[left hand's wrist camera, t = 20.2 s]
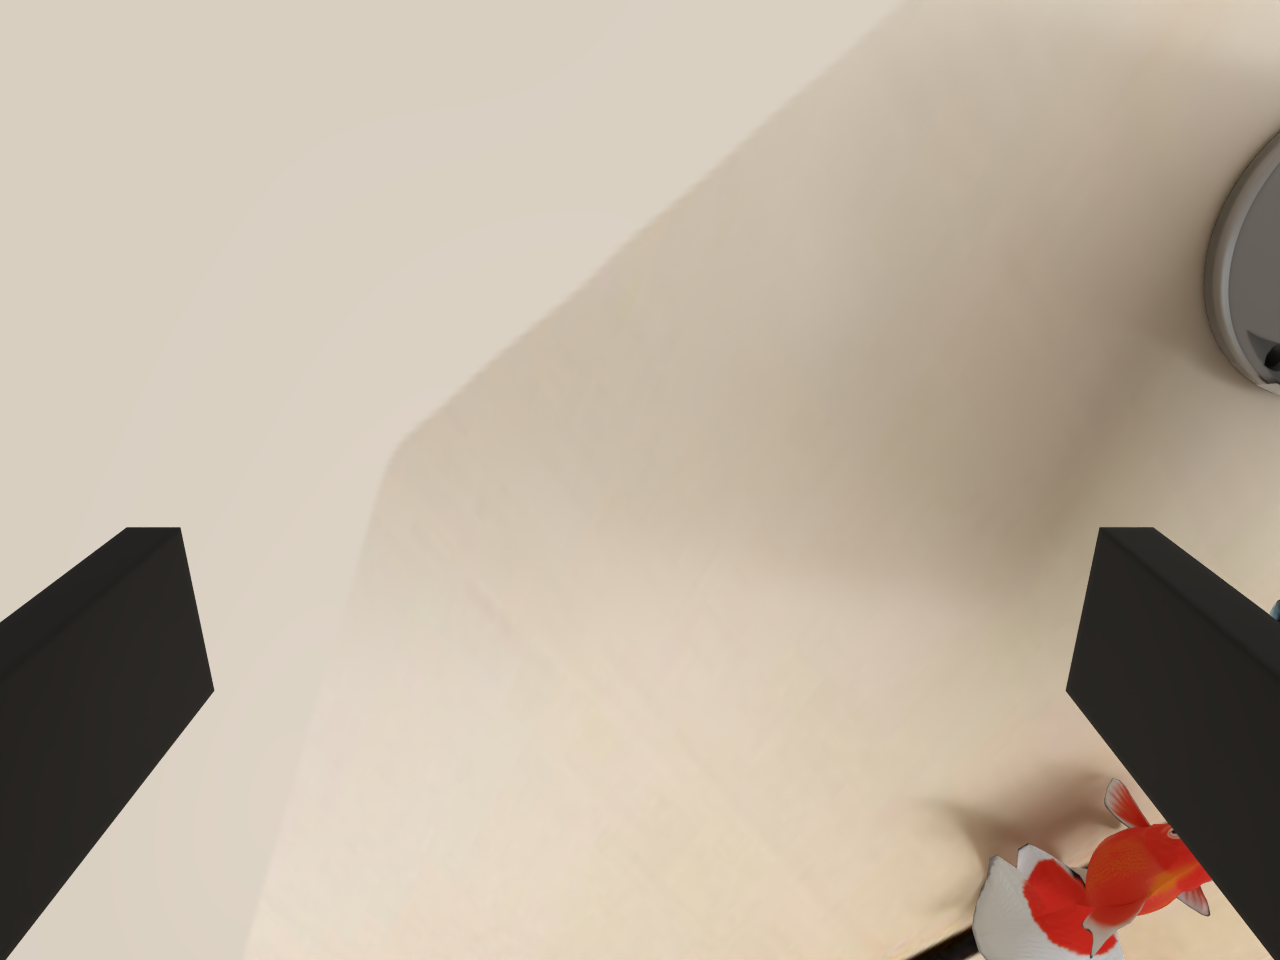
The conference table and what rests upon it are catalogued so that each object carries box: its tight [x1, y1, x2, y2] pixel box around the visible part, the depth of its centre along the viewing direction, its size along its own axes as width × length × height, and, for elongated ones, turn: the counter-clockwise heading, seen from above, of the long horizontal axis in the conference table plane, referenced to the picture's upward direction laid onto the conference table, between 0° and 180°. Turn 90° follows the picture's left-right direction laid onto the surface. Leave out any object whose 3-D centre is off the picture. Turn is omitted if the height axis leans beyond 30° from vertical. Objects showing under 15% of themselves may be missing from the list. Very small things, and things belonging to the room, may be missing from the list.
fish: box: [972, 779, 1212, 960], centre depth 52 cm, size 11×16×10 cm
